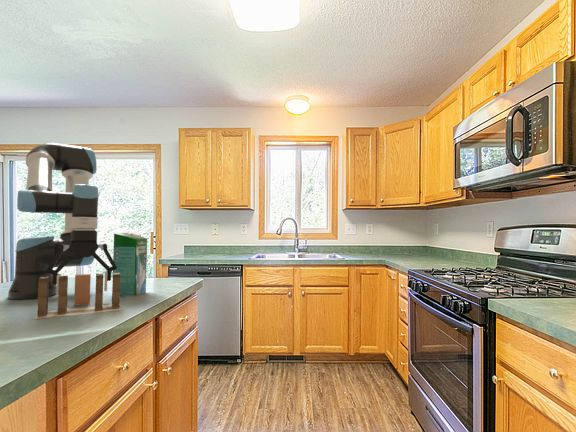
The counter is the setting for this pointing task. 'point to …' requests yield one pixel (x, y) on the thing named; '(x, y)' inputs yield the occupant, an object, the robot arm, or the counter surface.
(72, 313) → the birch board
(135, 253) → the milk carton
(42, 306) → the domino
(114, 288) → the domino
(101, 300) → the domino
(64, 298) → the domino
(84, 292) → the rust tile
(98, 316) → the counter surface
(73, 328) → the counter surface
